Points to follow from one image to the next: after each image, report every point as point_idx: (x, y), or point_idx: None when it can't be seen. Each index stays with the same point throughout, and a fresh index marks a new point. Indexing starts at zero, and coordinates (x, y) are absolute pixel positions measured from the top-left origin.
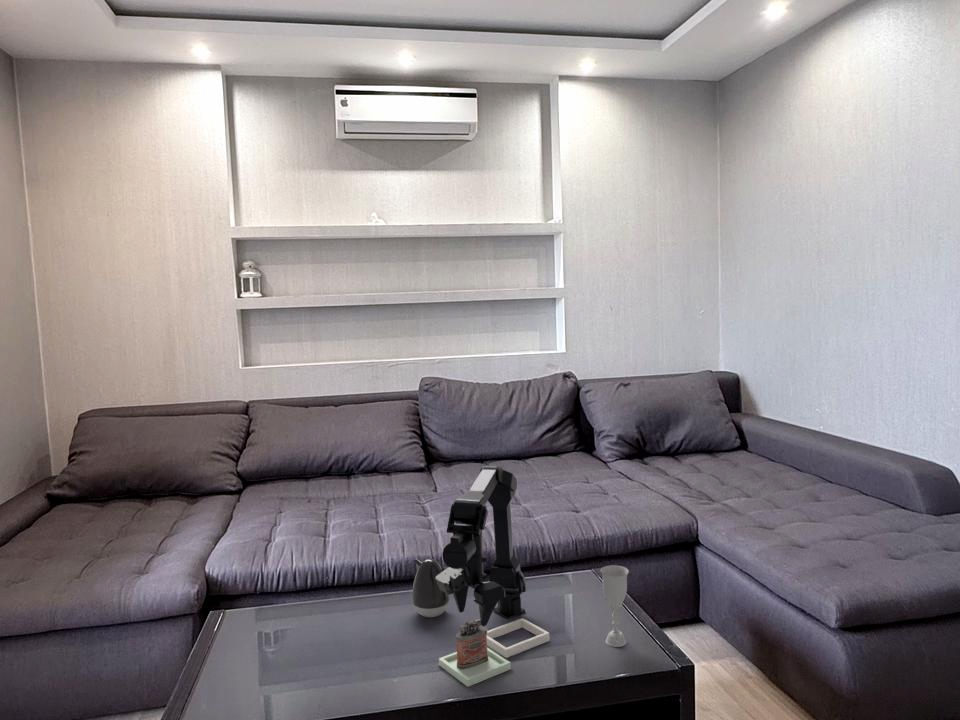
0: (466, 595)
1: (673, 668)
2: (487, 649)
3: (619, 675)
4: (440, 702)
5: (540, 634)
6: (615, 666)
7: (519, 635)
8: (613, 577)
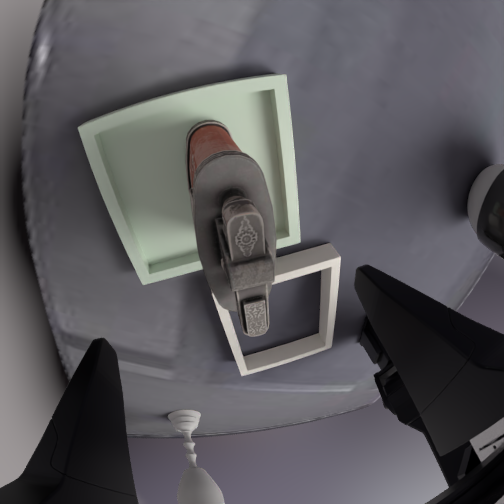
0: (402, 375)
1: None
2: None
3: None
4: (41, 21)
5: (245, 364)
6: None
7: (294, 323)
8: None
